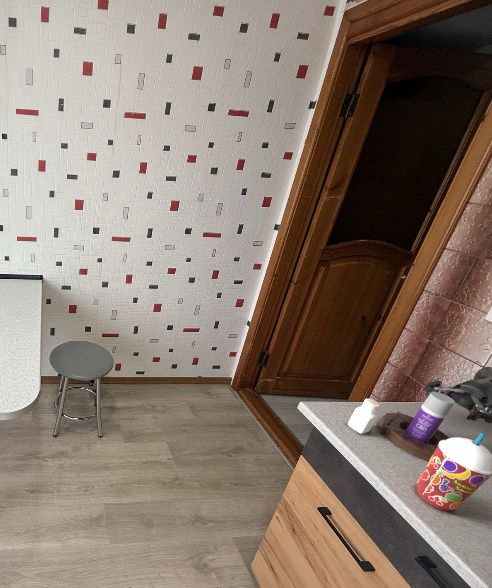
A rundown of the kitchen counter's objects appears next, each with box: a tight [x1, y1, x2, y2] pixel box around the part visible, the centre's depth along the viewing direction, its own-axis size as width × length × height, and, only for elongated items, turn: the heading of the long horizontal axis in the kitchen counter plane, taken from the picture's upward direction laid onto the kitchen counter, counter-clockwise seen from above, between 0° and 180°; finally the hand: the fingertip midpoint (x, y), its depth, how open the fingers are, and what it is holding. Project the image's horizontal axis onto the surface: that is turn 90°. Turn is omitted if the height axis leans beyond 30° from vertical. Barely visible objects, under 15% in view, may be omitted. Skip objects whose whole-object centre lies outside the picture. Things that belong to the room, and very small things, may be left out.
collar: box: [378, 411, 450, 462], centre depth 91 cm, size 15×15×2 cm
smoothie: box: [416, 432, 492, 512], centre depth 71 cm, size 8×8×20 cm
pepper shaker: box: [347, 398, 381, 435], centre depth 92 cm, size 4×4×10 cm
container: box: [404, 391, 456, 444], centre depth 89 cm, size 5×5×15 cm
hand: (448, 405), depth 91 cm, fingers open, 8 cm apart
